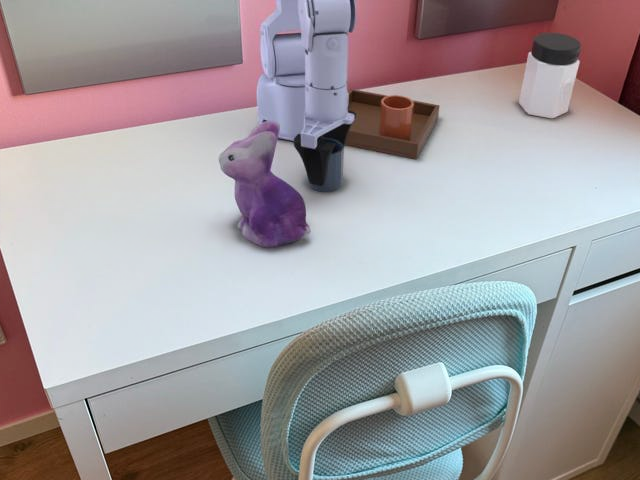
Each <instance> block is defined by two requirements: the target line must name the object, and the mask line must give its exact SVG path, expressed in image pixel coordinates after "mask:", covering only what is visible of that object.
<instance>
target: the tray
mask: <svg viewBox="0 0 640 480" xmlns="http://www.w3.org/2000/svg"><path fill="white" fill-rule="evenodd" d="M347 93H349V99H348V107H347V110H349V111H353V112H355V113H356V118H355V119H354V121H353V123H352V125H351V127H350V130H349V132H348V135H347V138H346V142H345V146H349V147H354V148H359V149H364V150H369V151H374V152H379V153H384V154H389V155H394V156H400V157H404V158H408V159H412V160H413V159H414V160H417V159H418V158H419V156H420V154H421V152H422V150H423V148H424V147H425V144H426V142H427V141H428V139H429V137H430V135H431V133H432V131H433V129H434V127H435V126H436V124H437V122H438V120H439V115H440V104H434V103H429V102H423V101H418V100H413V99H412V100H413V102H414V111H413V121H412V131H411V138H410V141H407V140H402V139H397V138H392V137H387V136H382V135H379V124H380V108H381V100H382V99H383V98H384V97H387V96H388V95H387V94H381V93H376V92H370V91H366V90H365V91H364V90H359V89H354V88H350V89H349V90H347ZM322 138H324V137H323V135H322Z"/></svg>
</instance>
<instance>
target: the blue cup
mask: <svg viewBox="0 0 640 480" xmlns="http://www.w3.org/2000/svg"><path fill="white" fill-rule="evenodd" d="M322 139H324V142H329V143H334V144H336V145H335V146H334V148H333V150H332V152H331V155H330V158H329V162H328V167H327V174H326V179H325V182H324V185H323V186H319V185H314V184H310V183H309V180H308V179H307V185H308V186H309V187H310V188H311V189H313V190H314V191H317V192H323V193H330V192H331V193H332V192H335V191H338V190H340V188H342V186H343V182H344V160H345V159H344V157H345V155H344V154H345V147H344V146H343V144H342V143H341V142H340V141H338V140H336V139H333V138H322Z"/></svg>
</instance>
